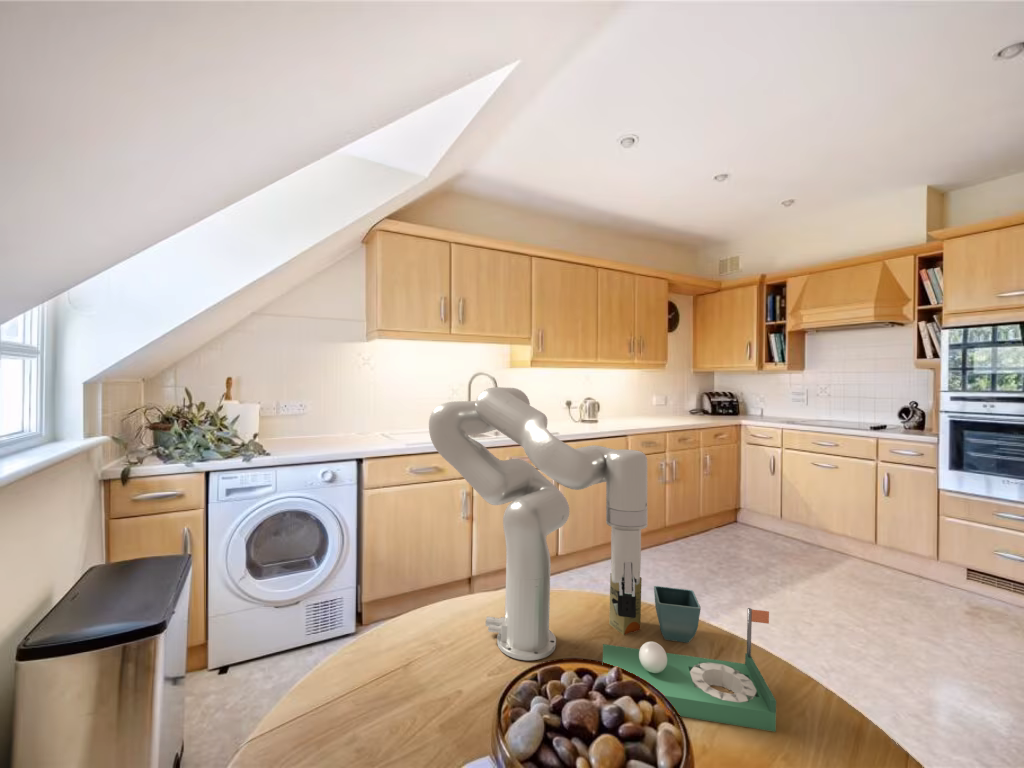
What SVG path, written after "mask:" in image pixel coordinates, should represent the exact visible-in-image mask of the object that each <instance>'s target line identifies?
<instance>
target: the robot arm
mask: <svg viewBox="0 0 1024 768" xmlns="http://www.w3.org/2000/svg"><path fill="white" fill-rule="evenodd" d="M547 428H548V418H547V416H546V414H545V413H543V412H542V411H541V410H540V409H539V410H538V409H537V408H535V407H533V406H531V404H530V399H529V398H528V396H527V394H526V393H525V392H524V391H522V390H521V389H518V388H515V387H500V386H499V387H497V386H495V387H493V386H492V387H489V388H486V389H484V390H482V391H481V392H480V393H479V394H478V396H477V397H476V399H475V400H469V401H468V400H467V401H466V400H465V401H462V400H461V401H458V400H456V401H448V402H445V403H441V404H439V405H437V406H436V407H435V408H434V409H433V411H431V413H430V416H429V419H428V432H429V436H430V440H431V443H432V445H433V447H434V448H435V450H436V451H437V453H438V454H439V455H440V456H441V457H442V458H443V459H444V460H445V461H446V462H448V464H450V465H451V466H452V467H453V469H455V470H456V471H457V472H458V473H459V474H460V475H461V477H462V478H463V479H464V480H465V481H466V482H467V483H468V484H469V485H470V486H471V488H473V489H474V490H475V492H476V493H478V495H479V496H480V497H481V498H482V499H483V501H485V502H486V503H488V504H490V505H492V506H501V505H504V504H505V505H506V504H508V503H509V504H508V505H507V507H506V509H505V510H504V512H503V513H504V514H503V517H502V526H503V533H504V539H505V552H506V555H505V557H506V559H505V560H506V563H505V607H504V616H500V618H498V617H494V616H486V619H485V627H488V630H487V631H488V632H489V633H496V634H497V633H498V634H497V636H496V639H497V640H496V641H497V642H496V644H497V647H498V649H499V650H500V651H501V652H502V653H503V654H505V655H506V656H507V657H510V658H513V659H515V660H519V661H520V660H521V661H536V660H537V661H538V660H543V659H545V658H547V657H549V656H550V655H552V653H554V652H555V650H556V647H557V638H556V636H555V633H553V632H552V630H550V604H551V603H550V600H551V596H550V595H551V566H552V565H551V554H550V549H549V547H548V543H547V542H548V541H547V536H548V535H550V534H552V533H553V532H555V531H557V530H558V529H560V528H562V527H564V525H565V524H566V523H567V521H568V520H569V517H570V505H569V501H568V500H567V498H566V497H565V495H564V494H563V493H562V492H561V491H560V490H559V488H558V487H556V486H555V485H554V484H553V483H552V482H551V481H550V480H549V479H548V478H550V479H551V480H553V481H554V482H556V483H558V484H559V485H561V486H562V487H564V488H567V489H570V490H576V491H580V490H584V489H586V488H589V487H591V486H594V485H598V484H602V483H606V484H605V490H606V491H605V493H606V494H605V496H606V497H605V501H606V503H605V504H606V505H605V507H606V508H605V511H606V512H605V514H606V515H605V520H606V521H605V524H606V525H608V526H609V527H611V530H610V531H611V533H610V573H611V576H612V582H613V583H614V584H616V583H619V591H618V615H619V616H621V617H631V618H635V617H636V595H635V584H636V585H638V584H639V583H640V577H641V564H642V563H641V561H642V560H641V559H642V558H641V557H642V530H643V529H646V528H648V458H647V455H646V454H645V453H644V452H642V451H640V450H635V449H622V448H621V449H614V448H610V447H606V446H601V445H595V444H594V445H588V446H581V447H577V448H575V447H572V446H571V445H570V444H567V443H565V442H564V441H562V440H561V439H559V438H558V437H556V436H555V435H554V434H552V433H551V432H550V431H549V430H548V429H547ZM495 430H496V431H498V432H499V433H502V434H503V435H504V436H506V437H507V438H509V439H511V440H512V441H513V442H515V443H516V444H518V445H519V446H521V448H522V449H523V451H524V453H525V455H526V456H527V458H528V459H529V461H530V462H531V463H532V464H531V463H530V462H528V461H526V460H524V459H520V458H511V459H506V460H505V459H503V460H501V459H499V458H497V457H496V456H495V455H494V454H493V453H491V451H489V449H488V448H487V447H486V446H485V445H483V444H482V443H481V442H479V441H478V440H475V439H474V438H471V437H470V436H473V435H474V436H475V435H481V434H485V433H489V432H493V431H495ZM543 474H544V475H546V476H547V477H548V478H547V477H546V476H544V475H543Z"/></svg>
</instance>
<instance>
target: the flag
mask: <svg viewBox="0 0 1024 768" xmlns="http://www.w3.org/2000/svg"><path fill="white" fill-rule="evenodd" d="M746 618H747V623H746V624H747V625H746V626H747V627H746V628H747V629H746V631H747V632H746V653H747V657H749V658H751V657H752V628H753V627H752V623H759V624H770V610H768V611H767V610H760V609H759V610H758V609H753V608H751V607H748V608H747V617H746ZM746 667H747V665H746Z"/></svg>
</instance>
